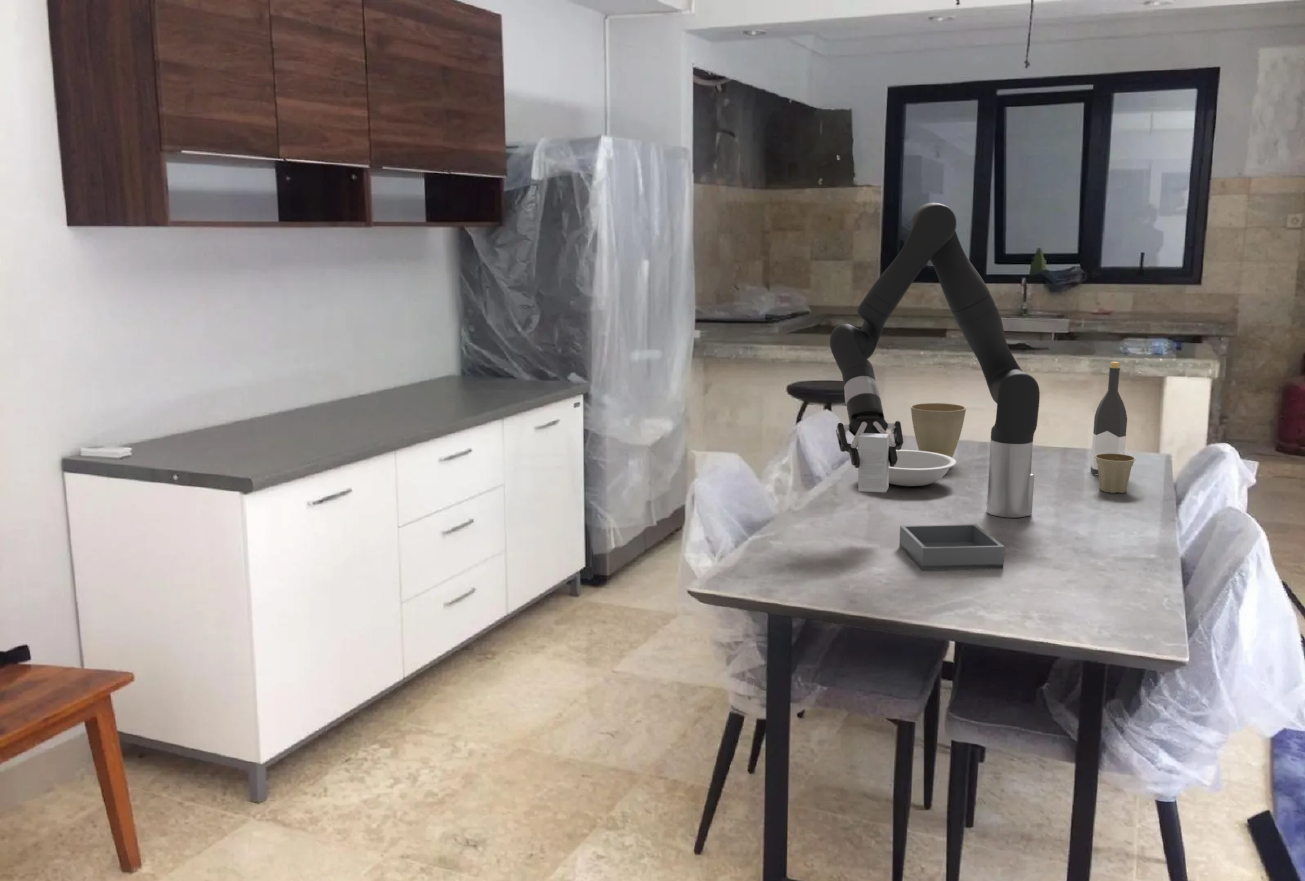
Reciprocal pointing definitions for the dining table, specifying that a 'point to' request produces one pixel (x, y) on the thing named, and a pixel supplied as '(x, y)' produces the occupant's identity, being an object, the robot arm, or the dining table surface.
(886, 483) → the skincare box
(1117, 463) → the flower pot
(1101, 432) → the wine bottle
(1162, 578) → the dining table surface
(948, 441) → the plant pot
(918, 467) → the soup bowl
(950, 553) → the gray square tray
